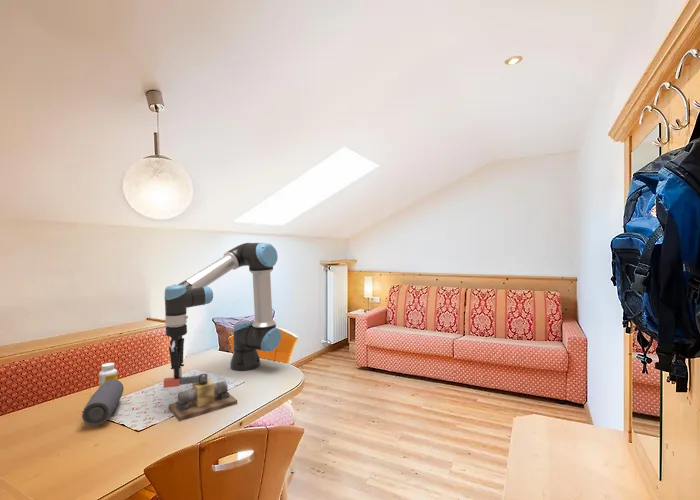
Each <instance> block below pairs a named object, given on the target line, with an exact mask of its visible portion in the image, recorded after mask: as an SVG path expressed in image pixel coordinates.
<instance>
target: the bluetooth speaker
mask: <svg viewBox="0 0 700 500" xmlns="http://www.w3.org/2000/svg"><path fill="white" fill-rule="evenodd" d="M123 392H124V384H123V383H122V381H120V380H118V379H117V380H108V381H106V382H105V383H104V384H102V385H101V386H100V387H99V386H98V388H97V390H96V391H95V392H94V393H93V394H92V395H91V398H90V399H89V400H88V402H87V403H86V405H85V406H84V408H83V410H82V414H81V417H82V421H83V422H84V423H85V424H87V425H89V426H93V427H94V426H99V425H103V424H104V422H106V421H107V420H108V419H109V418H110V417H111V415H112V414H113V412H114V411H115V409H116V408H117V406H118V405H119V402H120V400H121V398H122V396H123Z"/></svg>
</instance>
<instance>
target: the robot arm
mask: <svg viewBox="0 0 700 500" xmlns="http://www.w3.org/2000/svg"><path fill="white" fill-rule="evenodd" d="M278 255H279V254H278V251H277V249H276V248H275V247H274V246H273V245H272V244H270V243H267V242H245V243H241V244H238V245H237V246H235V247H233V248H231V249H229V250H228V251H226V252H224V254H223V256H222V257H220V258H219V259H217V260H215V261H214V262H212V263H211V264H209V265H207V266H206V267H204V268H203V269H201V270H199V271H198V272H196V273H194V274H193V275H191V276H190V277H188V278H186V279H185V280H183V281H181V282H180V283H178V284H171V285H167V286H166V287H165V288H164V289H165V290H164V308H165V309H164V311H165V313H164V315H165V318H164V319H165V323H164V324H165V325H166V326H165V336H166V337H168V338H169V337H170V343H169V345H170V346H169V347H168V352H169V357H170V366H171V368H170V370H173V377H180V378H182V377H183V372H182V369H183V367H184V366H185V364H183V363H184V347H185V346H184V344H185V338H184V337H183V336H186V335H187V333H188V324H187V322H188V321H187V319H188V318H189V316H188V315H187V309H189V308H193V307H199V306H205V305H207V304H210V303H212V302H213V299H214V293H213V289H212V288H211V287H210V286H209V285H211V284H213V283H214V282H215V281H216V280H218V279H220V278H222V277H223V276H224V275H226V274H228V272H230V271H232V270H234V271H235V270H237V269H238V268H240V267H241V268H242V267H246V266H248V271H249V272H250V273H251V274H252V286H253V287H252V288H253V289H252V290H253V308H254V309H253V310H254V311H253V312H254V320H246V321H241V322H236V323H235V324H234V325H233V334H232V335H233V354H232V356H231V360H230V369H231V370H233V371H240V372H241V371H242V372H244V371H251V370H255V369H257V368H260V366H261V359H260V356H259V353H258V350H260V351H262V352H273V351H274V350H275V349H277V348H278V346H279V344H280V342H281V340H282V332H281V330H280V329H279V328H277V322H276V321H275V320H273V305H272V301H273V300H272V286H271V284H272V281H271V272H272V271H274V266H275V265H276V264H277V262H278Z"/></svg>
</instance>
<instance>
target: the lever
mask: <svg viewBox="0 0 700 500" xmlns="http://www.w3.org/2000/svg"><path fill="white" fill-rule="evenodd" d="M207 379H208V373H201V374H198V375H192V376H184V377H183V376H182V378H180V377H174V376H172V377H164V379H163V388H164V389H166V388H167V389H168V388H177V387H180V386H181V385H191V384H192V383H199V384H205V383H207V382H208V380H207Z"/></svg>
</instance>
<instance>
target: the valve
mask: <svg viewBox="0 0 700 500" xmlns="http://www.w3.org/2000/svg"><path fill="white" fill-rule="evenodd" d="M207 380H208V382H207V383H205V384H199V383H192V385H191V386H192V387H191V388H192V389H188V390H183V391H180V392H177V401H175V402H172V403H169V404H168V409H169V411H170V412H171V413H172V414H173V415H174V416H175V417H176V419H177V420H178V422H182V421H185V420H188V419H192V418H195V417H198V416H202V415H204V414H208V413H212V412H215V411H218V410H222V409H224V408H228V407H232V406H235V405H237V404H238V399H236V398H235V397H234V396H233V395H232V394H231V393H230V392H229V391H228V390H229V389H228V383H227V381H226V380H223V381H220V382H213V381H212V380H210V379H209V378H207Z"/></svg>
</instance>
